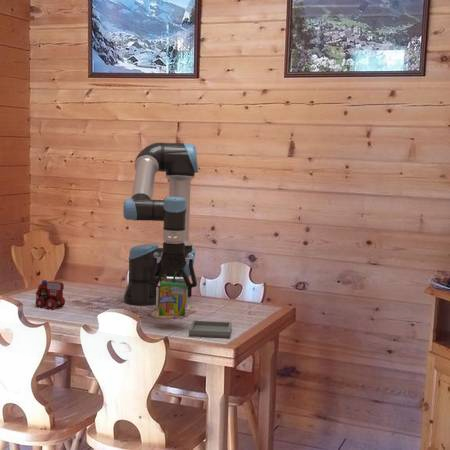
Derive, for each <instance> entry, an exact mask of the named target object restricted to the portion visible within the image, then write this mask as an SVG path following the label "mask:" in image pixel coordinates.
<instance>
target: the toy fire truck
mask: <svg viewBox="0 0 450 450" xmlns="http://www.w3.org/2000/svg"><path fill="white" fill-rule="evenodd" d="M64 288H65V287H64V282H60V281H52V280H51V281H47V279H43V280H42V281H41V283H40V284H38V288H37V290H36V293H35V306H36V307H37V308H39V307H40V308H39V309H43V308H45V306H46V308H47V310H50V309H51V310H54V309H56V307H58V308H62V307H64V306H65V303H66V299H65V297H63V296H64V295H63V294H64V293H63V292H64Z"/></svg>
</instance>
